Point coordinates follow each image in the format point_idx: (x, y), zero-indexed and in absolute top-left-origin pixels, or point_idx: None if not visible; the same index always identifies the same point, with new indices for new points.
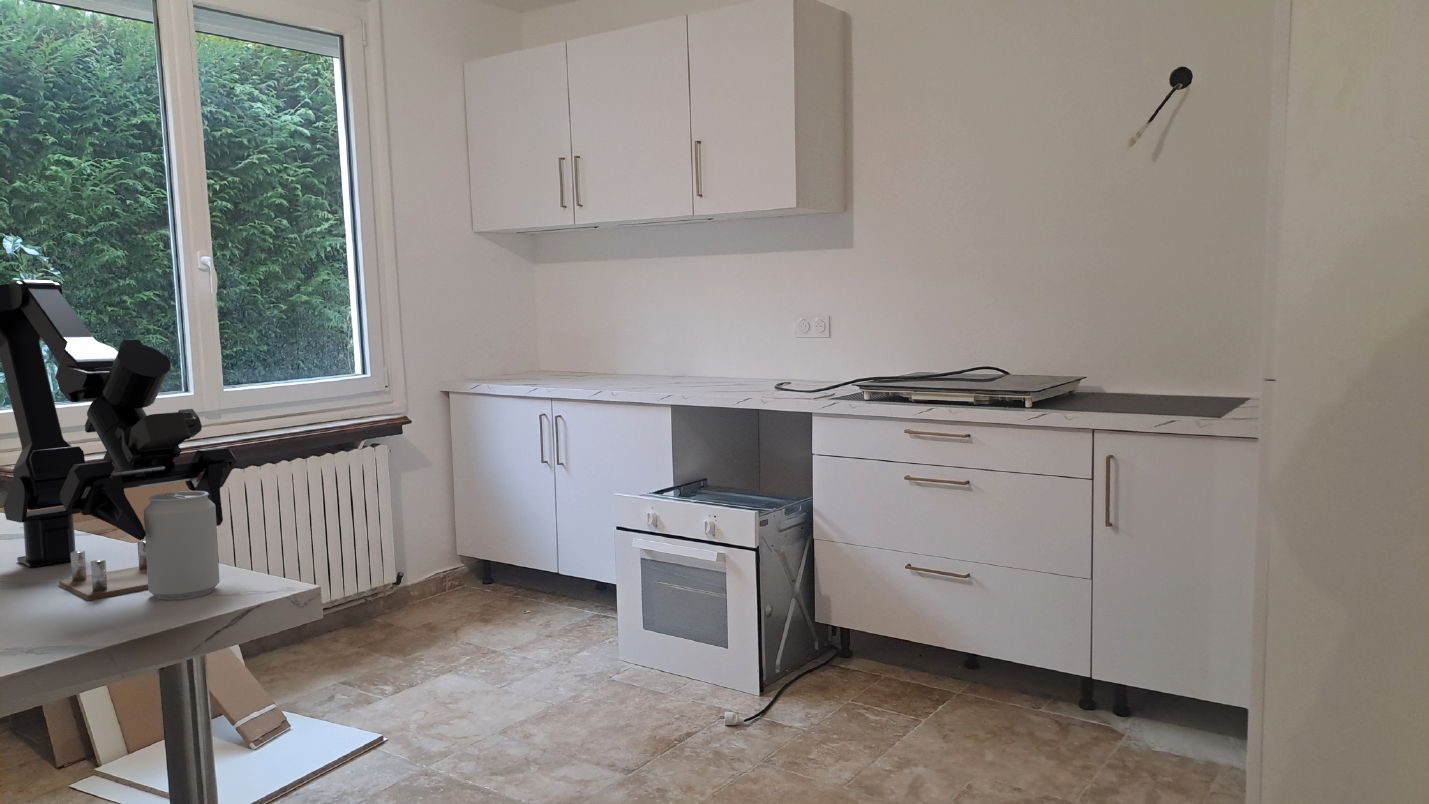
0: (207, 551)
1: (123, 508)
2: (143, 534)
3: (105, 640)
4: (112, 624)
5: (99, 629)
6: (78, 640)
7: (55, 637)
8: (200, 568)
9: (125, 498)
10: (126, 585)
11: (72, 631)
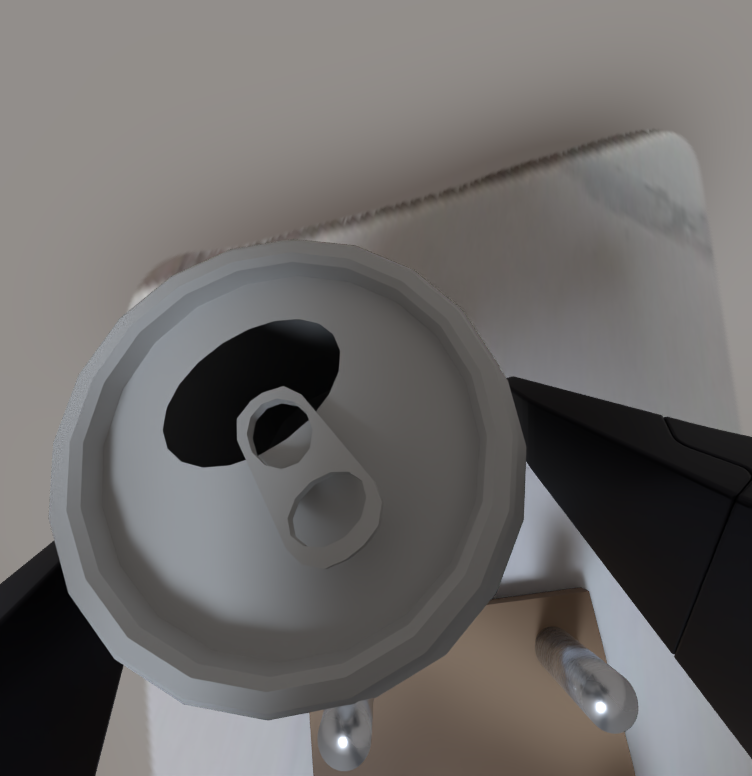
0: (283, 368)
1: (684, 425)
2: (507, 378)
3: (556, 199)
4: (538, 298)
5: (563, 278)
6: (601, 229)
7: (642, 278)
8: (322, 372)
9: (731, 480)
10: (480, 650)
11: (613, 300)
